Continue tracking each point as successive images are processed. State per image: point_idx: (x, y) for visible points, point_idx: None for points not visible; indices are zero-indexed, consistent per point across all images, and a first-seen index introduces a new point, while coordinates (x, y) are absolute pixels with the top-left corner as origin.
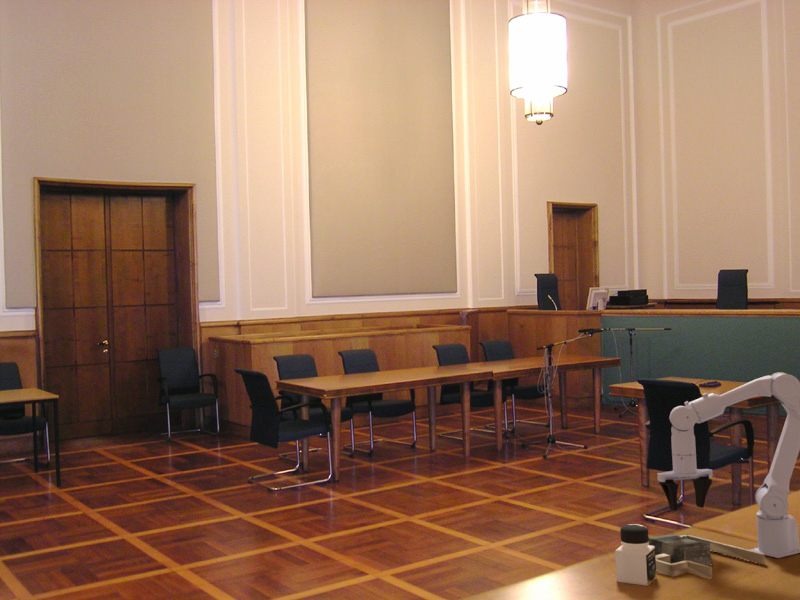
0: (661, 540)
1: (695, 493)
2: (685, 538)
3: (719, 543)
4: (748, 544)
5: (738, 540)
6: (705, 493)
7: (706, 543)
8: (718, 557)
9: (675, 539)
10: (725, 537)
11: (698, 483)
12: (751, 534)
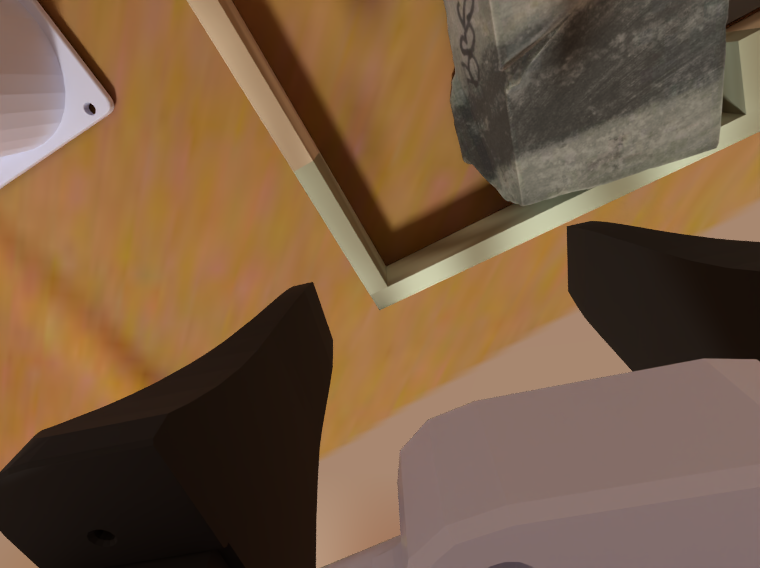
0: (706, 8)
1: (320, 432)
2: (507, 60)
3: (271, 99)
4: (107, 247)
5: (142, 313)
6: (232, 343)
7: (326, 179)
8: (313, 23)
9: (596, 24)
10: (188, 361)
11: (271, 503)
12: (73, 386)
